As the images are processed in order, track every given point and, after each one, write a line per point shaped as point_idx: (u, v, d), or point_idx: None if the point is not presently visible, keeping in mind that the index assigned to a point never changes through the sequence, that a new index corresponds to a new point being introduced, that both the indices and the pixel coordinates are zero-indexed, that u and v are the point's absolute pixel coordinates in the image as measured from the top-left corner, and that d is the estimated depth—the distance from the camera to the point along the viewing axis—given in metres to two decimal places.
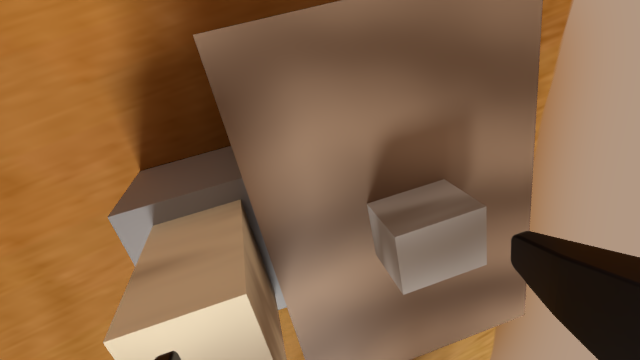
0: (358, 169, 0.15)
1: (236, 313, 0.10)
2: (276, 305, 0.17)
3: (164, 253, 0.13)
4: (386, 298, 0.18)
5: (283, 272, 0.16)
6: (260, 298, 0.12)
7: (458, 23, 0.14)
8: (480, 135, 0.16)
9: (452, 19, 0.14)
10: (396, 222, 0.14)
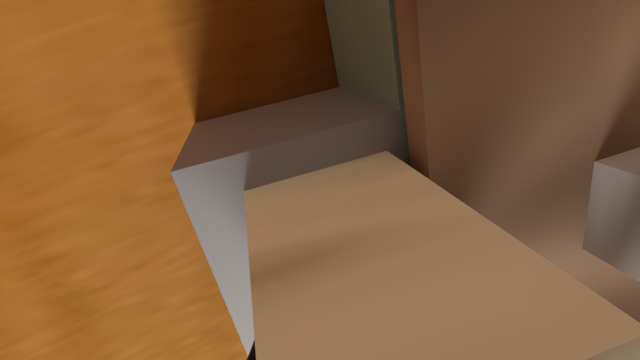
0: (600, 98, 0.09)
1: None
2: None
3: (301, 233, 0.06)
4: None
5: None
6: None
7: None
8: None
9: None
10: None
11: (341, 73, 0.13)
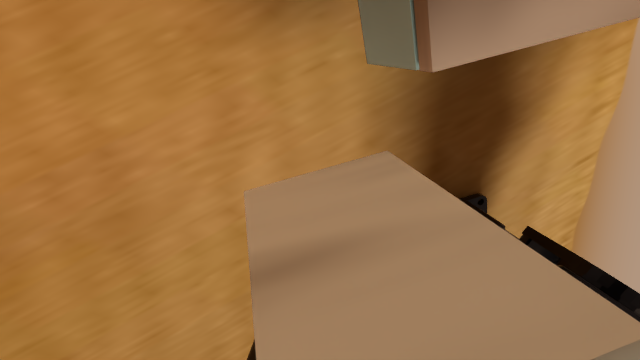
0: None
1: None
2: None
3: (301, 234, 0.06)
4: None
5: None
6: None
7: None
8: None
9: None
10: None
11: None
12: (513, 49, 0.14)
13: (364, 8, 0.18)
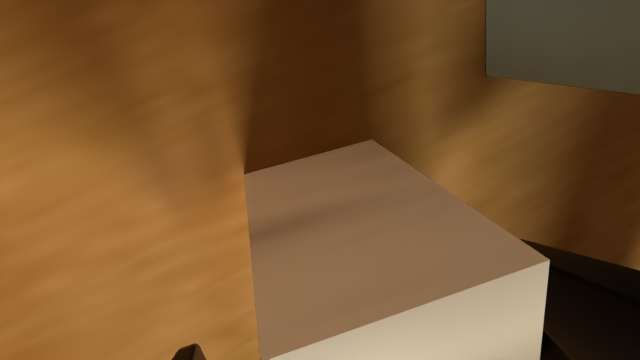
0: None
1: (517, 302, 0.05)
2: None
3: (292, 204, 0.08)
4: None
5: None
6: None
7: None
8: None
9: None
10: None
11: None
12: None
13: None
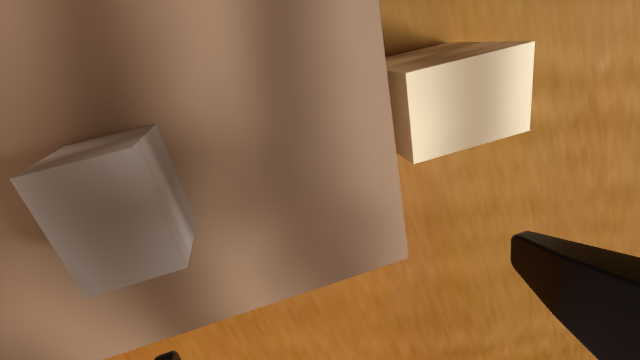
0: None
1: (419, 81, 0.14)
2: (453, 43, 0.19)
3: None
4: (272, 196, 0.14)
5: (215, 315, 0.15)
6: (425, 60, 0.16)
7: None
8: None
9: None
10: None
11: None
12: (399, 192, 0.15)
13: None
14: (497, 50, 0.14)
